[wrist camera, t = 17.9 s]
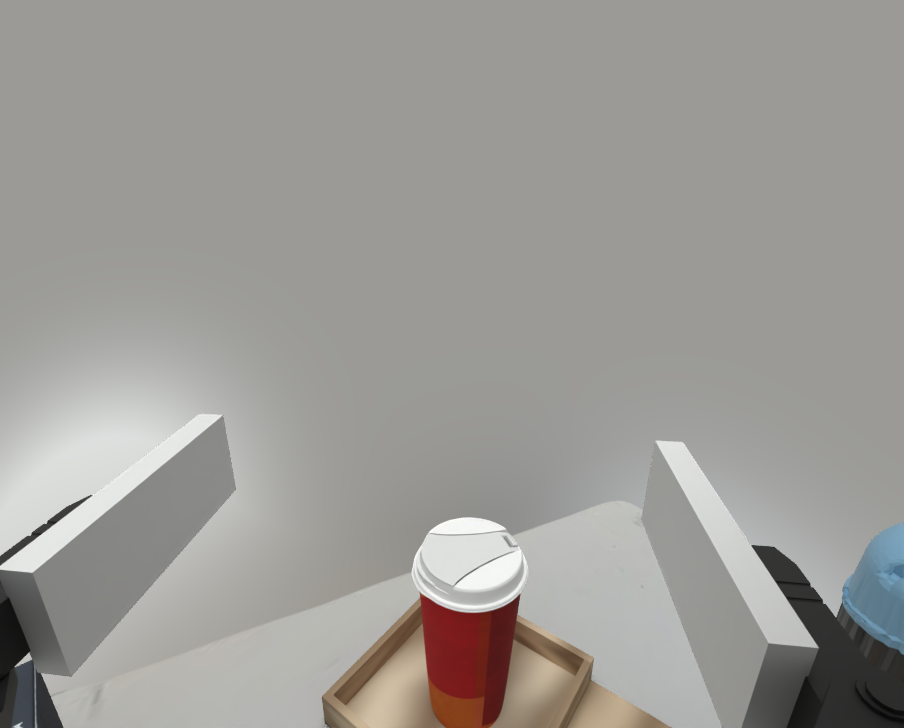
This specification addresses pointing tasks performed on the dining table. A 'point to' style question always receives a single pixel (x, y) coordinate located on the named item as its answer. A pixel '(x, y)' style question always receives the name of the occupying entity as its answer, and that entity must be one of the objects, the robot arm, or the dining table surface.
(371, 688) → the box
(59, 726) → the small box
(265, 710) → the dining table surface
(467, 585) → the coffee cup
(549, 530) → the dining table surface
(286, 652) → the dining table surface
